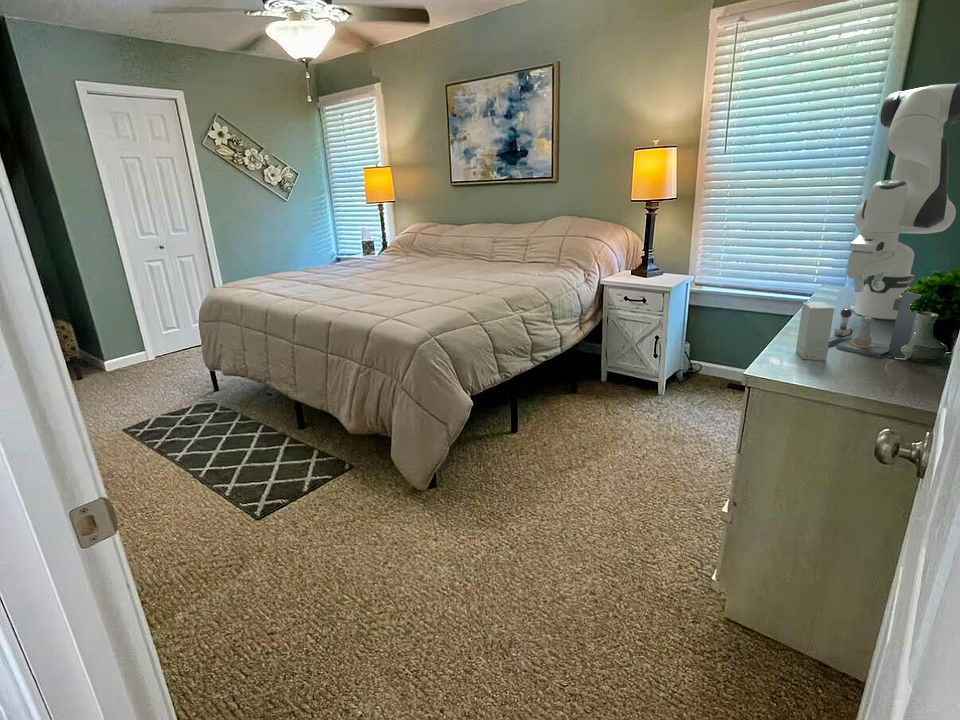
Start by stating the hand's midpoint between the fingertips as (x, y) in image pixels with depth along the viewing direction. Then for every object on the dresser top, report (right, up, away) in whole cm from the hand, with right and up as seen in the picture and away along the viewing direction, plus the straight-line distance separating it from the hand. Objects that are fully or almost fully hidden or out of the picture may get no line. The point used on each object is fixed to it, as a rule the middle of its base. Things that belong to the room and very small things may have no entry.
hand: (867, 288), depth 149 cm
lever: (-3, -13, +6) cm, 15 cm away
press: (-3, -18, -2) cm, 18 cm away
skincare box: (-20, -20, -5) cm, 29 cm away
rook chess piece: (-3, -16, -2) cm, 17 cm away
